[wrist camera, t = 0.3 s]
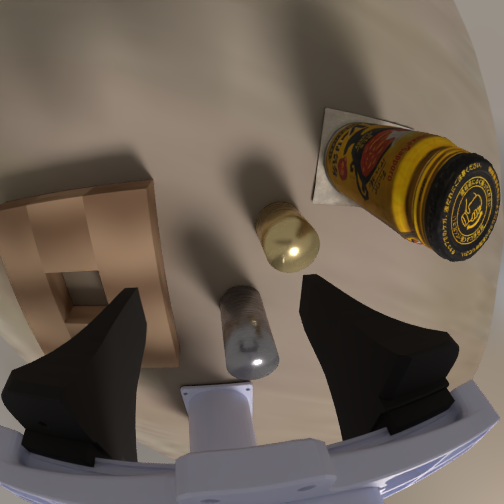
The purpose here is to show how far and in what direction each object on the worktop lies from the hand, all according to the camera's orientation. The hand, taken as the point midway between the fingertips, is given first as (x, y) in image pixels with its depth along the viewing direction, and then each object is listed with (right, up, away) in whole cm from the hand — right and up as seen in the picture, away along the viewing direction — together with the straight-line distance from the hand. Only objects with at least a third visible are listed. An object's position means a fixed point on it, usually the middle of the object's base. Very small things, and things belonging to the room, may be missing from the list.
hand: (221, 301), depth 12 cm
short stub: (+3, +4, +10) cm, 11 cm away
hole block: (-13, 0, +9) cm, 16 cm away
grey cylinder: (0, -2, +12) cm, 13 cm away
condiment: (+10, +9, +8) cm, 16 cm away
